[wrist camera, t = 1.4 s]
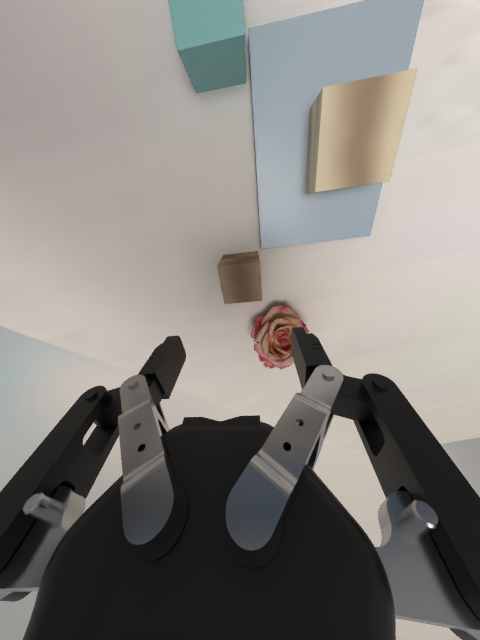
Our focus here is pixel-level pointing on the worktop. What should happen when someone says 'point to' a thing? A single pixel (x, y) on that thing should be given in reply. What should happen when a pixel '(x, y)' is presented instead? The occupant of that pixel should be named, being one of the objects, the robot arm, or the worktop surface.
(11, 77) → the worktop surface
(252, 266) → the block walnut
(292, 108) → the board
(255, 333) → the flower
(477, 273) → the worktop surface
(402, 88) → the base block
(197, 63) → the block teal
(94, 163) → the worktop surface
